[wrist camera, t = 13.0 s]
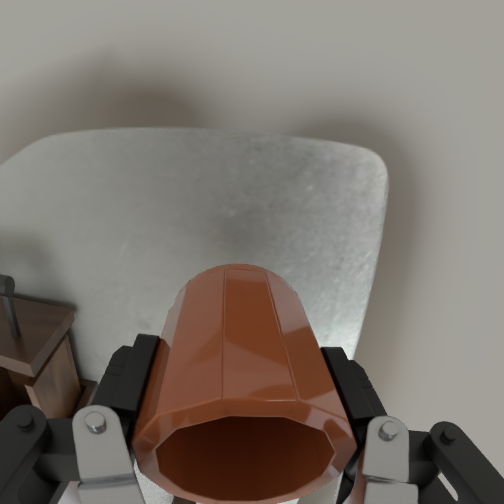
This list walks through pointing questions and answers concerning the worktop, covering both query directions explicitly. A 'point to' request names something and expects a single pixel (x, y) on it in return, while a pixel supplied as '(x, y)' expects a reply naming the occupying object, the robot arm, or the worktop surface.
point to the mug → (182, 501)
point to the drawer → (36, 356)
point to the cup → (240, 396)
